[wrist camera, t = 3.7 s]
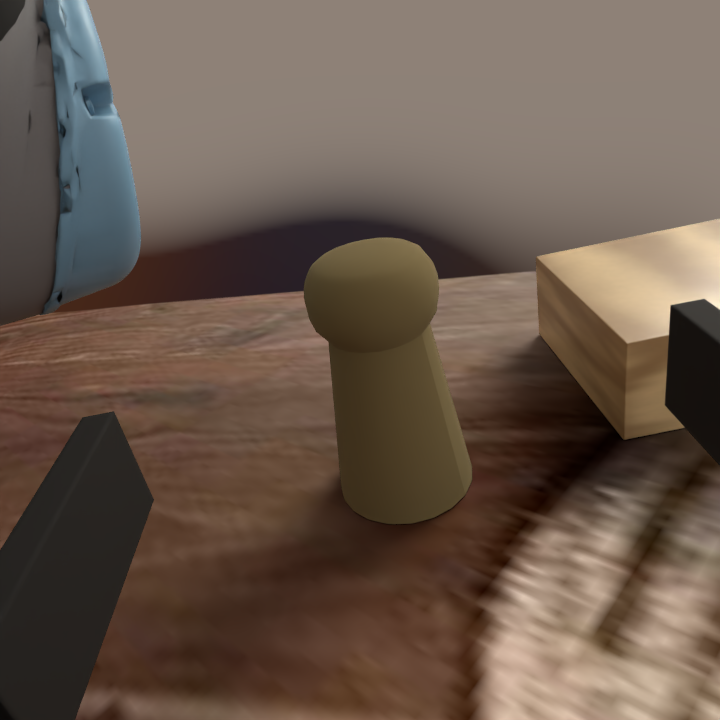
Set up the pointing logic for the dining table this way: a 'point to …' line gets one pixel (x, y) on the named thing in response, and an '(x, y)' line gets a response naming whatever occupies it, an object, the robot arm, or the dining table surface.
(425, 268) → the olive green peg figure
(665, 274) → the riser block
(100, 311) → the dining table surface
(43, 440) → the dining table surface
